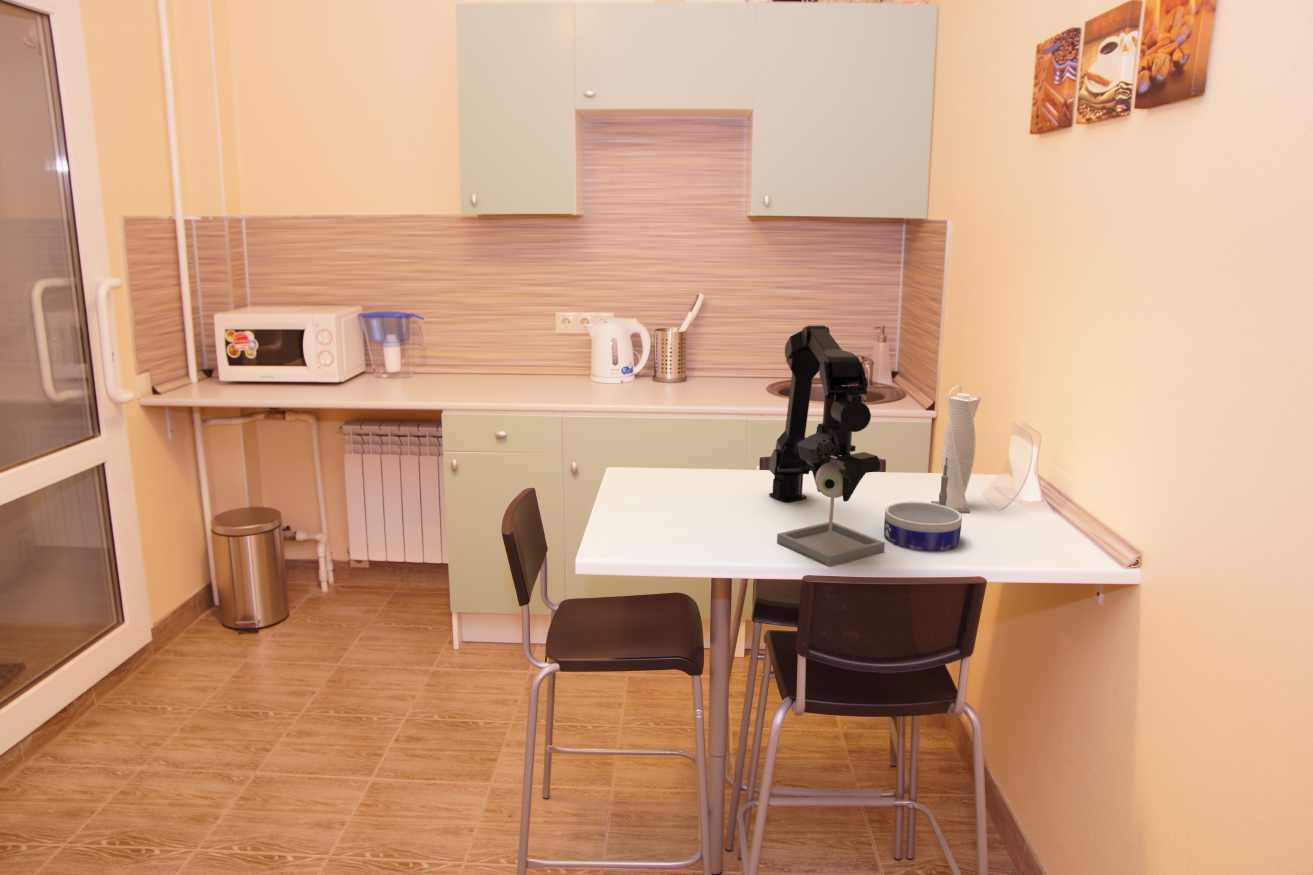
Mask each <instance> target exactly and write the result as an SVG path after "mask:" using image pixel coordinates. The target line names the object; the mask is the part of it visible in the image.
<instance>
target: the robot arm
mask: <svg viewBox="0 0 1313 875" xmlns="http://www.w3.org/2000/svg"><path fill="white" fill-rule="evenodd" d="M784 357H785V362H786V363H787V365H788V368H789V370H790V372H791V378H790V386H789V395H788V404H787V413H786V420H785V429H784V431H783V432H782V434H780V436H779V437H778V438H777V439H776V443H775V449H773V450H772V454H771V455H770V458H769V461H768V464H769V466H768V467H769V468H768V469H769V471H770V473H772V475H773V479H772V492H769V494H768V495H769V497H772V498H774V499H777V500H780V501H782V502H785V503H791V502H796V501H800V500H804V499H807V495H805V494H803V485H804V484H803V482H804V475H809V474H810V471H811V472H812V475H813V479H814V480H815V478H816V474H817V471H818V470H819V468H820V467H821V466H822V465H824V464H826V463H829V462H832V461H831V460H836V461H839V462H843V465H844V467H845V469H841V470H839V471H840V473H841V474H842V476H843V496H842V501H843V502H848V501H850V499H851V497H852V495H853V493H854V492H855V490H856V489H857V486H858V485H859V484H860V483H861V481H862V479H863V477H865V475H866V474H868V473H873V472H878V471H880V470H881V459H880V458H879V457H878V456H877V455H875V454H873V453H870V452H867V451H866V452H865V451H863V452H862V451H861V452H858V453H851V452H856V445H853V444H852V436H853V433H857V432H861V431H862V430H864V429H865V428H867V427H868V425H869V424H870V422H871V419H872V418H871V417H872V413H871V410H870V408H869V407H868V405H867V404H865V403H864V402H863V401H862V398H863V397H862V395H867V393H868V391H867V389H868V386H869V383H868V379H867V376H866V371H865V368H864V365H863V362H862V360H860V358H859V357H858V356H857V355H856V354H855V353H853V352H851V351H847V350H843V349H842V347H840V345H839V344H838V343H837V341H836V340H835V339H834V337H833V336H832V334H831V333H830V328H829V327H828V326H825V325H806V326H804V327H803V328H802V329H801V331H798V332H796V333H793V334H792V335H790V336H789V337H788V339H787V341H786V343H785V345H784ZM818 373H819V378H820V382H821V385H822V389H823V391H824V397H823V416H822V423H818V424H817V426H816V431H815V433H813V434H810V435H809V436H807V437H806V431H807V424H808V423H807V422H808V416H809V408H810V401H811V400H810V399H811V393H812V386H813V379H814V378H815V377H816V375H817V374H818ZM814 482H815V481H814ZM815 484H816V482H815ZM815 486H816V485H815ZM816 489H817V492H818V493H821V492H820V491H819V490H818V488H817V486H816Z"/></svg>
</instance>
